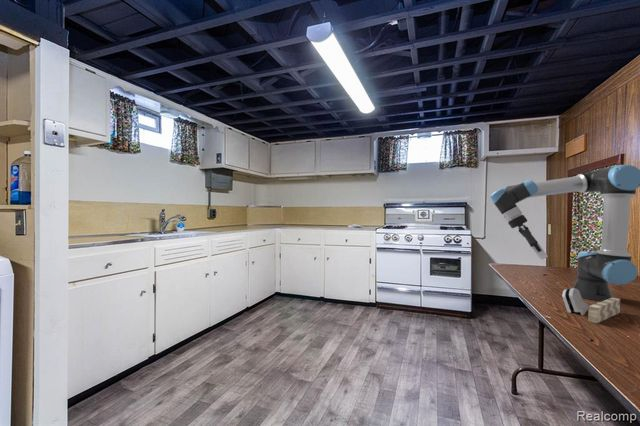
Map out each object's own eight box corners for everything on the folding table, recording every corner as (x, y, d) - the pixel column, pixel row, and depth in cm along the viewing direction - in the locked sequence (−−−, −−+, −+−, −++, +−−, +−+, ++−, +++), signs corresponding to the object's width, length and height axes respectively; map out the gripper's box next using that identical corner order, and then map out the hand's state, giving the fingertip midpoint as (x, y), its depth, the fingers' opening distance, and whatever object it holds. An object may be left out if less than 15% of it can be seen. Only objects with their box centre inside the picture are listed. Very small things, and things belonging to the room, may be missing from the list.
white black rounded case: (583, 315, 124) (573, 291, 126) (569, 316, 127) (559, 292, 129) (589, 307, 135) (580, 285, 137) (576, 308, 138) (567, 286, 140)
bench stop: (611, 311, 130) (612, 297, 130) (619, 312, 128) (620, 298, 128) (588, 321, 117) (588, 306, 117) (596, 323, 115) (597, 308, 115)
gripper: (507, 222, 157) (533, 259, 150) (506, 220, 136) (537, 262, 129) (522, 215, 154) (549, 252, 147) (523, 212, 133) (555, 254, 126)
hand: (543, 257), depth 138 cm, fingers open, 13 cm apart
